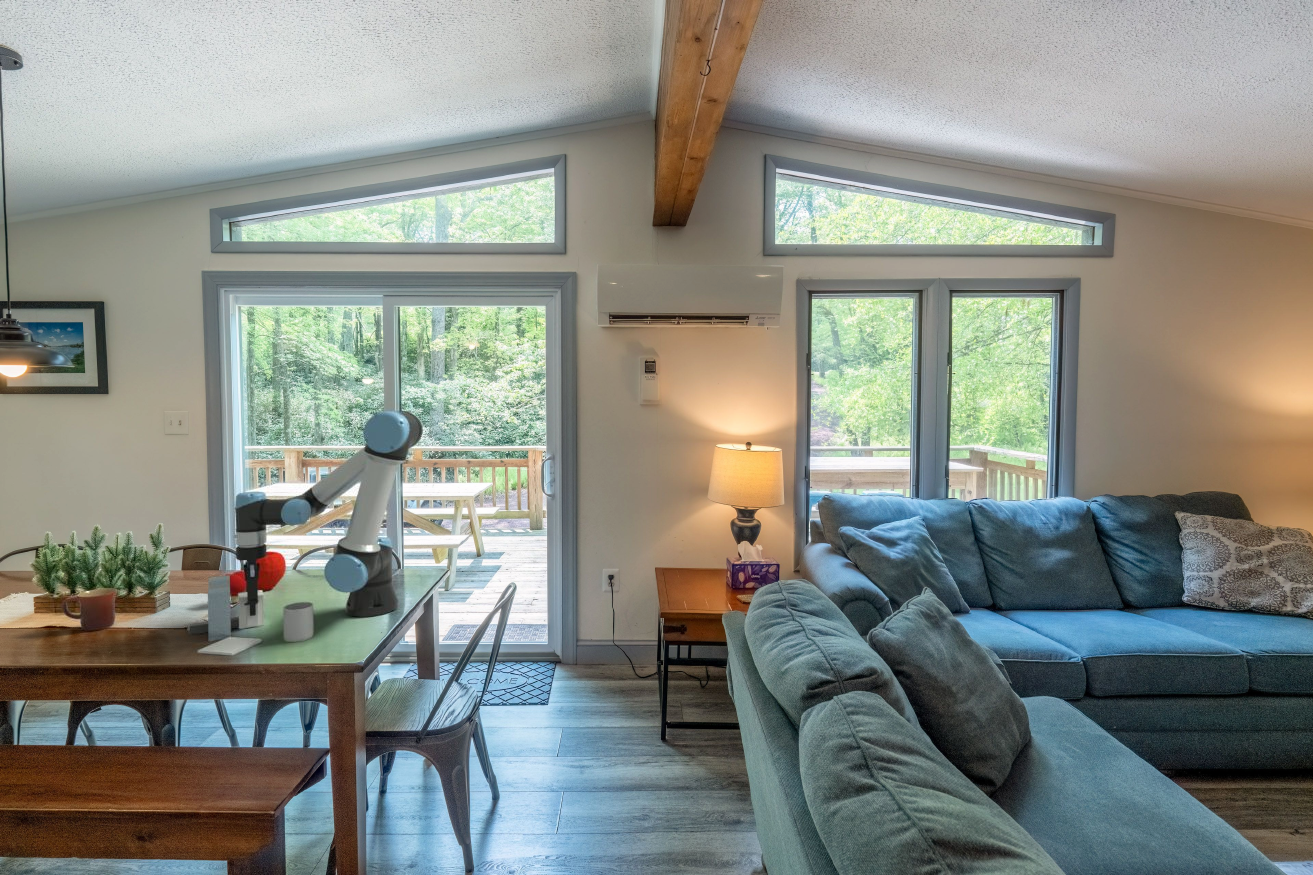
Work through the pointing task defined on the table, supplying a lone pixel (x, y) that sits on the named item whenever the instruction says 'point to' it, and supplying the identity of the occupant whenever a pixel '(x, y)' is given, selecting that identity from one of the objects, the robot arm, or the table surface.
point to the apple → (270, 570)
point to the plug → (235, 621)
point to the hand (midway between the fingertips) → (252, 622)
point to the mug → (94, 608)
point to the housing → (219, 608)
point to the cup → (298, 621)
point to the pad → (230, 646)
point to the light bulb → (236, 585)
